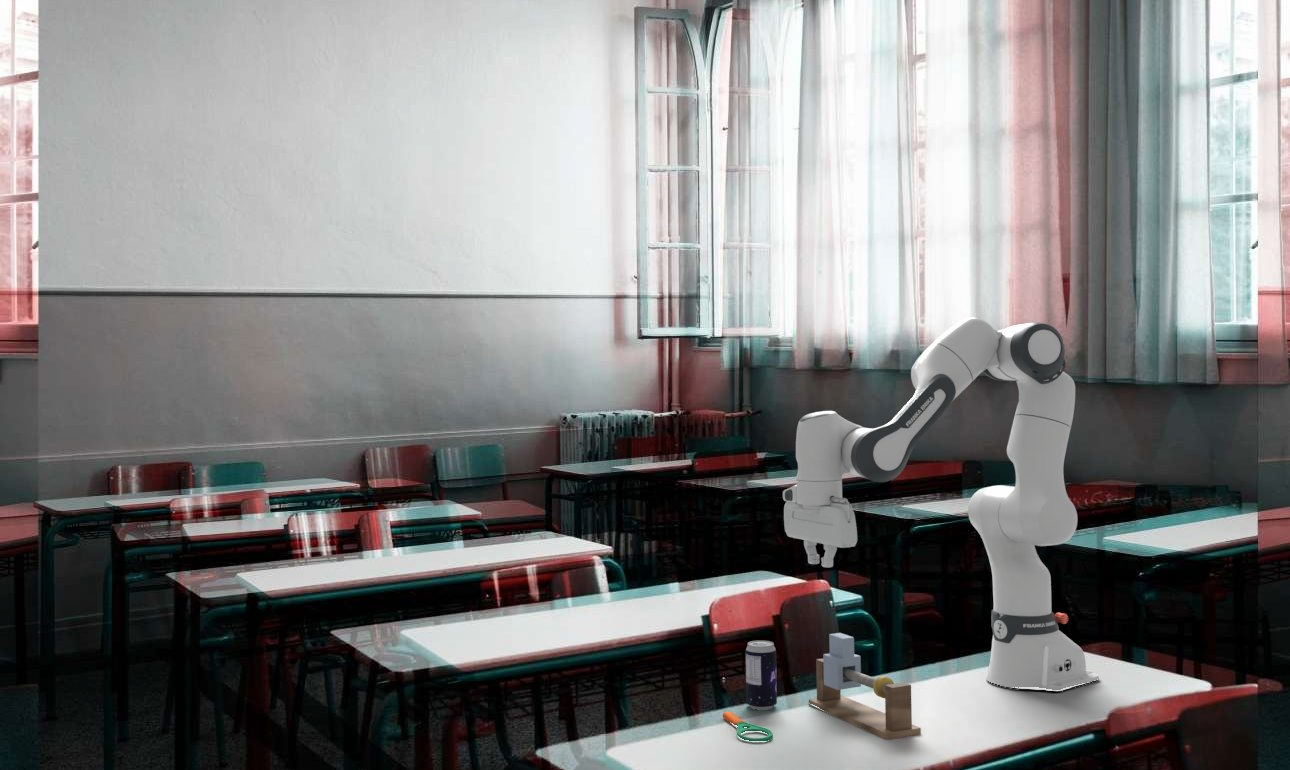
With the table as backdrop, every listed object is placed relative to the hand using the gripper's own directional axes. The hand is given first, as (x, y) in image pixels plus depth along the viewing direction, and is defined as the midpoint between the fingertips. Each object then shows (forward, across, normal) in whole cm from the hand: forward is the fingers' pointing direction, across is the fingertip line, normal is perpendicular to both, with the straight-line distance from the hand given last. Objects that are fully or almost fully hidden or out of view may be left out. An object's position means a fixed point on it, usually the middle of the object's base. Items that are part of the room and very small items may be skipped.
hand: (820, 565), depth 222 cm
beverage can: (+25, -2, +15) cm, 30 cm away
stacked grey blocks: (+21, -11, +3) cm, 23 cm away
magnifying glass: (+26, -13, +25) cm, 38 cm away
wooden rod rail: (+25, -17, +3) cm, 30 cm away
